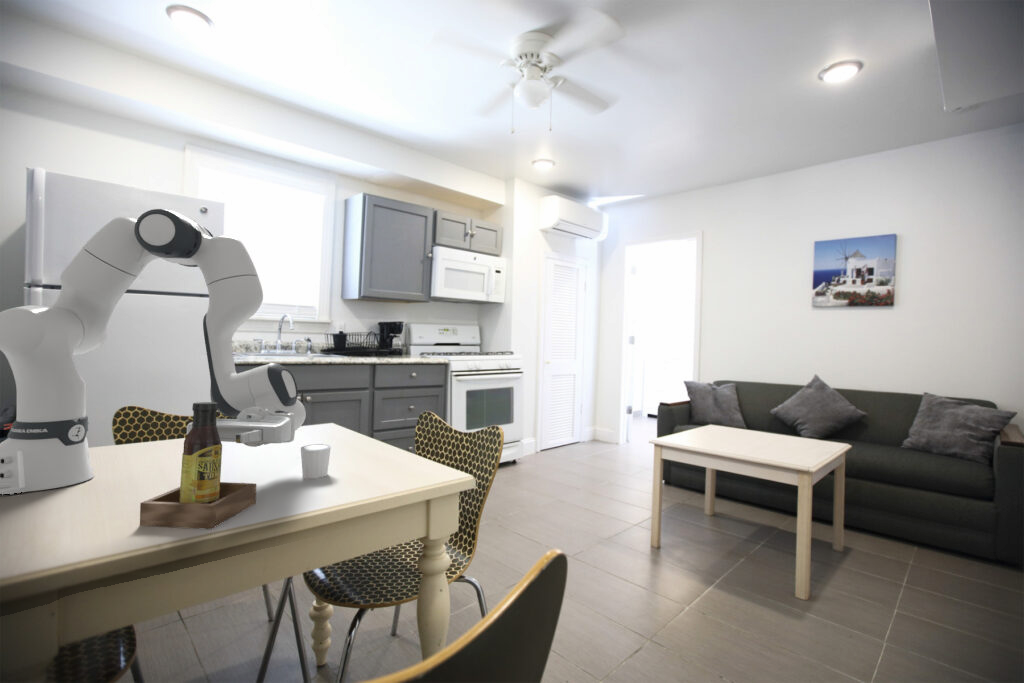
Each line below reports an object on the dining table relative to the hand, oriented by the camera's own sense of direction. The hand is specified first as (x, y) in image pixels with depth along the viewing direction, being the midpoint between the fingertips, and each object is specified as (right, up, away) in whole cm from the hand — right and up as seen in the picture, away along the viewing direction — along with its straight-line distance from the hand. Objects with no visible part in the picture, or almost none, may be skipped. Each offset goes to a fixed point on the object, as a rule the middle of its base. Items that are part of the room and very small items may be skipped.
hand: (215, 438), depth 92 cm
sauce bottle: (-1, -13, -4) cm, 13 cm away
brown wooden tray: (-1, -14, -3) cm, 14 cm away
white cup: (+10, -14, +23) cm, 29 cm away
